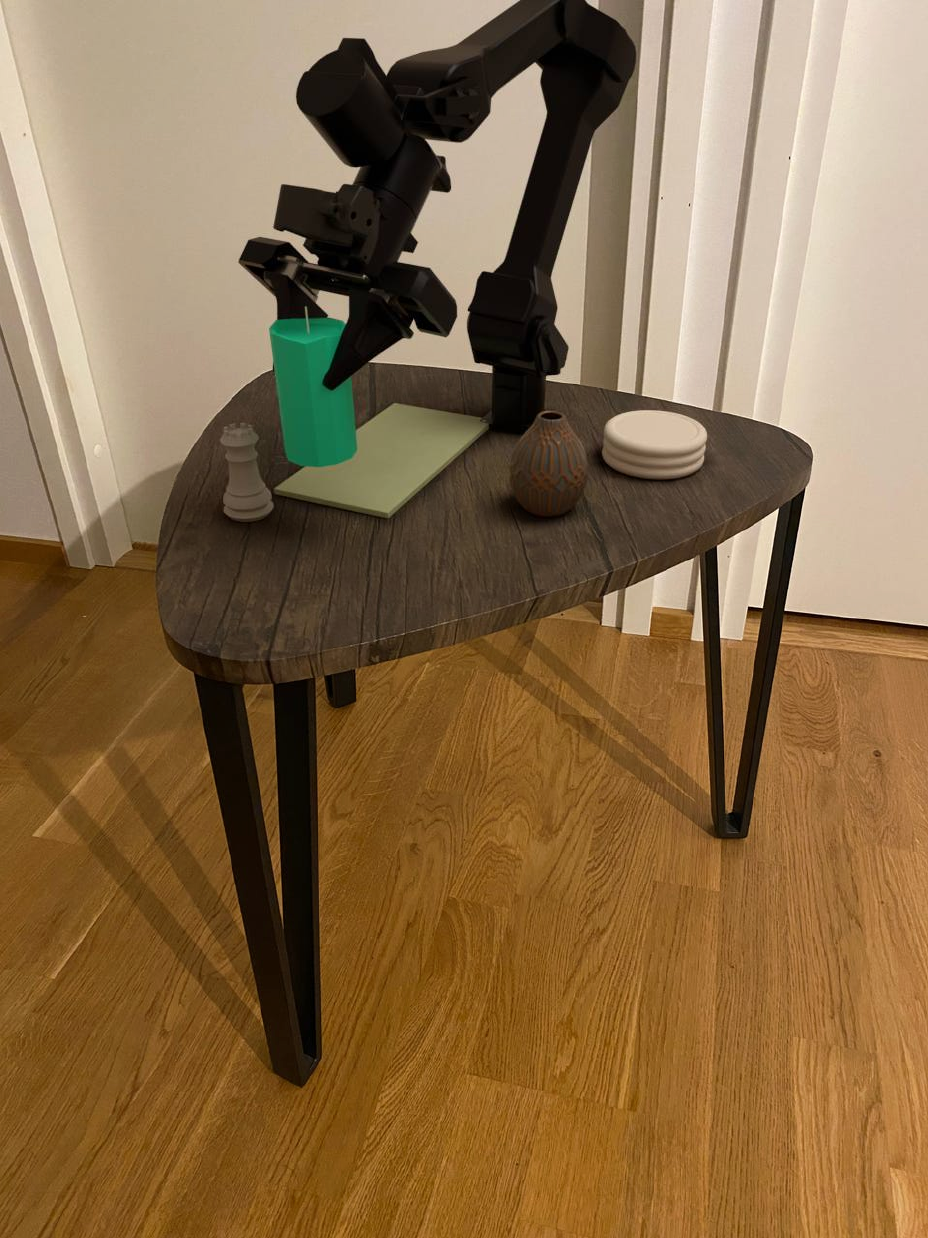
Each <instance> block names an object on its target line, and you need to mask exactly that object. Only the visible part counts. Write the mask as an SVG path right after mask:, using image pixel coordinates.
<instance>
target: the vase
mask: <svg viewBox="0 0 928 1238" xmlns="http://www.w3.org/2000/svg"><path fill="white" fill-rule="evenodd" d="M551 410H552V409H550V410H549V411H543V412H540V413H539V414H538V415H537V417H536V419H535V421H534V423H533V424H532V425H531V427H530V428H529V429H528V430H527V431H526V432H525V433H522V435H521V437H520V438H519V439H518V440H517V442H516V443H515V446H514V448H513V450H512V454H511V458H510V461H509V483H510V488H511V490H512V494H513V496H514V498H515V499H516V501H517V502H518V503H519V505H520V506H521V507H522V508H523V509H525V510H526V511H527V512H528V513H530V514H532V515H534V516H539V517H558V516H561V515H564V514H566V513H567V512H569V510H571V509H573V508H574V506H575V505H576V504H577V503H578V502H579V501H580V500H581V497H582V496H583V493H584V492H585V488H586V485H587V482H588V474H589V473H588V471H589V466H588V458H587V454H586V450H585V447H584V445H583V443H582V441H581V439H580V438H579V436H577V434H576V433H575V431H574V430H573V429H572V428H571V426H570V424H569V422H568V420H567V416H566V414H564V412H561V411H559V410H554V411H551Z"/></svg>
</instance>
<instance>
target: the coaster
mask: <svg viewBox="0 0 928 1238" xmlns="http://www.w3.org/2000/svg"><path fill="white" fill-rule="evenodd" d="M603 435H604V436H603V440H602V446H603V447H602V449H601V455H602V458H603V460H604V462H605V463H606V464H607V465H608V466H609V467H610V468H612V469H614V470H615V471H617V472H619V473H621V474H624V475H627V476H630V477H635V478H640V479H646V480H674V479H680V478H685V477H687V476H690V475H692V474H694V473H696V472H697V471H699V469H701V468H702V466H703V465H704V461H705V452H706V449H707V447H706V443H707V440H708V432H707V430H706V428H705V427H704V426H703V425H702V423H700V422H699V421H698V420H696V419H694V418H692V417H690V416H686V415H684V414H680V413H677V412H671V411H666V410H655V409H653V410H652V409H649V410H648V409H644V410H643V409H642V410H631V411H627V412H623V413H620V414H617V415H615V416H613V417H612V418H610V419H609V420H608V421H607V422H606V423H605V426H604V428H603Z"/></svg>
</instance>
